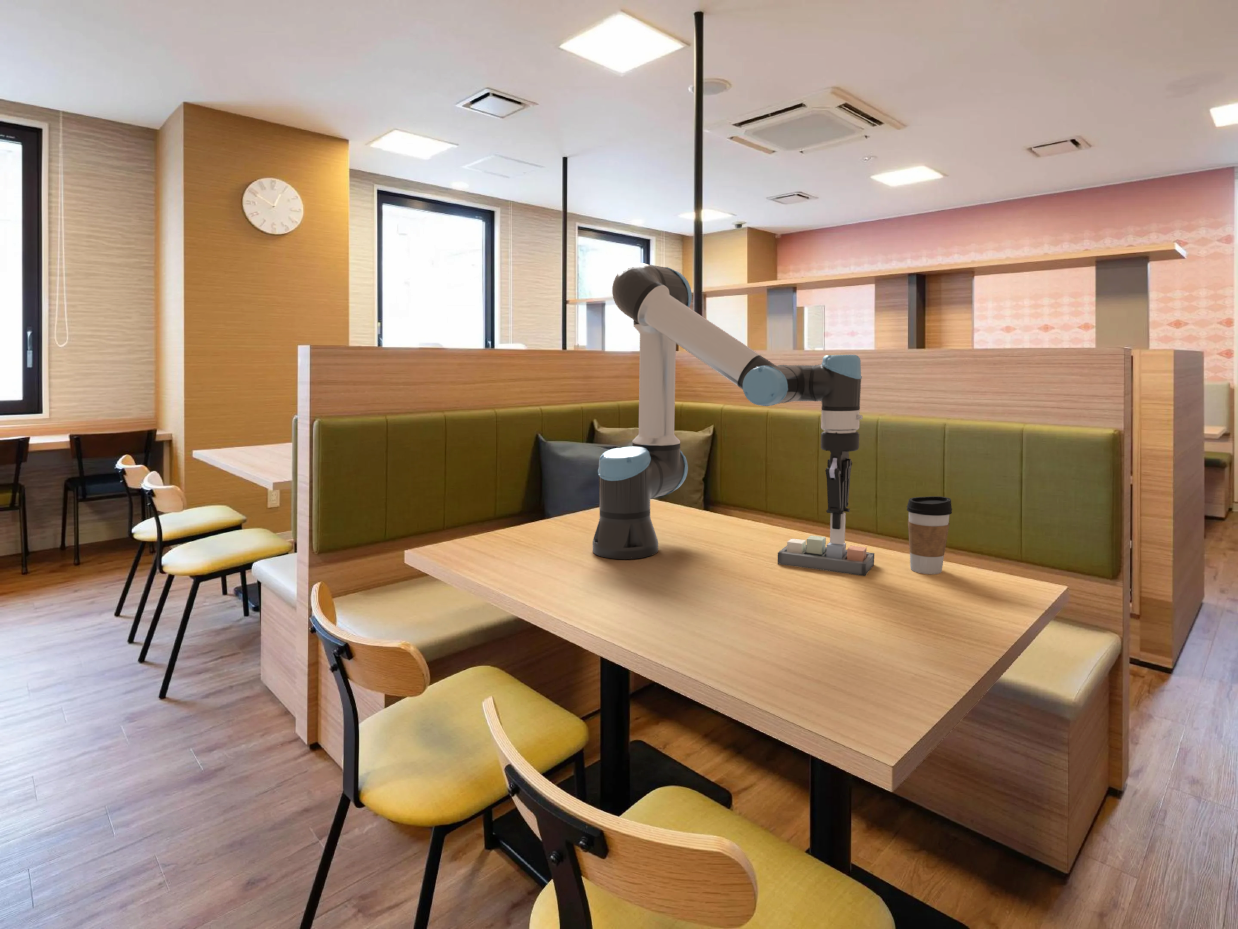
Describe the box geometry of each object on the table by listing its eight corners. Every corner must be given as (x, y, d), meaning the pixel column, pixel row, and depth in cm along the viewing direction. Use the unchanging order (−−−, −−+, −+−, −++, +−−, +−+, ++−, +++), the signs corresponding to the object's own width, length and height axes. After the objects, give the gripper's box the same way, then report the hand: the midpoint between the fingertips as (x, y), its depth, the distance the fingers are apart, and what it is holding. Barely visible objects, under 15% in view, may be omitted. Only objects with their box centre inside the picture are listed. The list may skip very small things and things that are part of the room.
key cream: (786, 555, 150) (787, 541, 149) (791, 551, 152) (791, 538, 152) (801, 557, 148) (801, 543, 148) (805, 553, 151) (806, 540, 150)
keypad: (777, 564, 148) (777, 552, 148) (790, 553, 156) (790, 542, 155) (865, 576, 139) (865, 564, 139) (874, 564, 147) (874, 553, 146)
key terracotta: (846, 563, 143) (847, 549, 143) (850, 559, 146) (850, 545, 146) (862, 565, 142) (863, 551, 141) (866, 561, 144) (866, 547, 144)
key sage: (806, 552, 147) (806, 538, 147) (810, 548, 150) (810, 535, 150) (821, 554, 146) (821, 540, 145) (825, 550, 148) (825, 537, 148)
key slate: (826, 558, 145) (826, 544, 145) (830, 555, 148) (830, 541, 148) (841, 560, 144) (842, 546, 143) (845, 557, 147) (845, 543, 146)
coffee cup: (953, 577, 137) (958, 503, 135) (908, 575, 139) (911, 501, 137) (942, 565, 146) (946, 494, 143) (900, 563, 147) (903, 493, 145)
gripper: (851, 434, 135) (848, 552, 138) (865, 428, 146) (862, 537, 149) (813, 433, 138) (810, 548, 142) (829, 427, 149) (827, 534, 153)
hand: (837, 542), depth 145 cm, fingers closed
